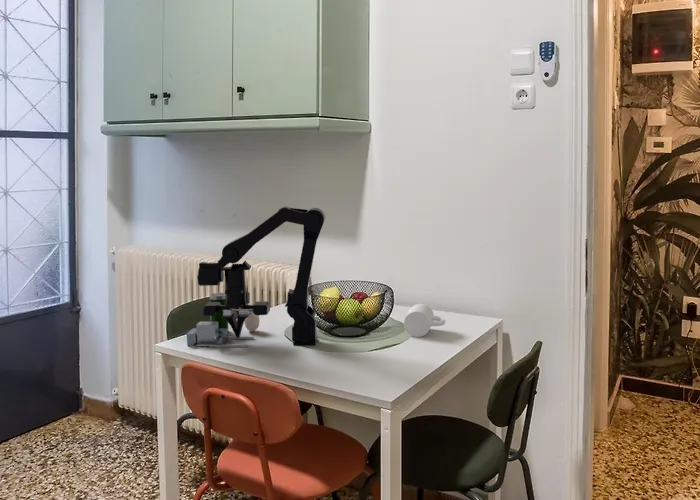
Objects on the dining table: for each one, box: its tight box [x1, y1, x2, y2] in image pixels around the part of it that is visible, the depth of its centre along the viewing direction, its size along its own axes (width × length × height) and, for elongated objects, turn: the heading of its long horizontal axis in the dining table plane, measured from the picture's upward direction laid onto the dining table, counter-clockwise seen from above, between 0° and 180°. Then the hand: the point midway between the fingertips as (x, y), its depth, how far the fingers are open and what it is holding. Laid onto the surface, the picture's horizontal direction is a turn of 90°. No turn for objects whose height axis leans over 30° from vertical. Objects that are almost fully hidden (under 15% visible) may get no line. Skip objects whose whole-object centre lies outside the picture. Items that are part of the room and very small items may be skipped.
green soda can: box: [209, 292, 229, 333], centre depth 201 cm, size 5×5×12 cm
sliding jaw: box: [214, 328, 229, 344], centre depth 189 cm, size 2×10×3 cm, turn 177°
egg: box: [243, 311, 260, 333], centre depth 202 cm, size 5×5×7 cm
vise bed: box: [186, 327, 255, 348], centre depth 190 cm, size 18×8×4 cm, turn 87°
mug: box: [403, 303, 446, 338], centre depth 198 cm, size 12×10×8 cm
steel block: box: [195, 321, 218, 345], centre depth 190 cm, size 4×6×6 cm, turn 87°
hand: (238, 337), depth 190 cm, fingers closed
